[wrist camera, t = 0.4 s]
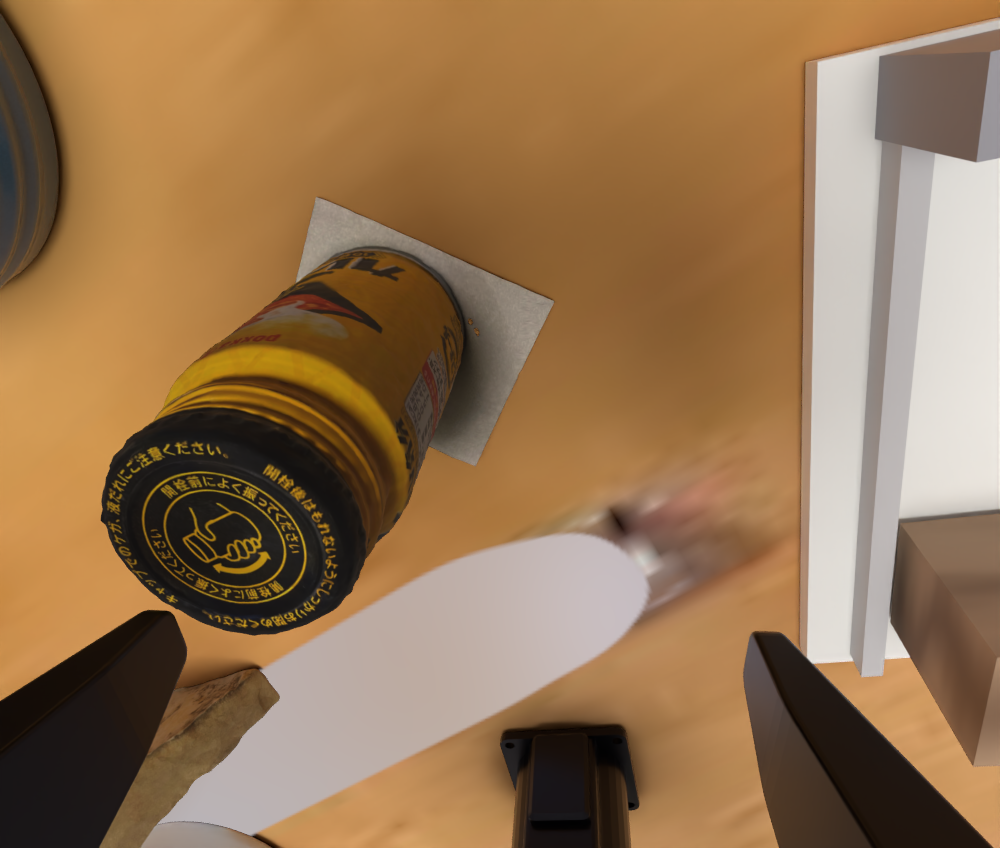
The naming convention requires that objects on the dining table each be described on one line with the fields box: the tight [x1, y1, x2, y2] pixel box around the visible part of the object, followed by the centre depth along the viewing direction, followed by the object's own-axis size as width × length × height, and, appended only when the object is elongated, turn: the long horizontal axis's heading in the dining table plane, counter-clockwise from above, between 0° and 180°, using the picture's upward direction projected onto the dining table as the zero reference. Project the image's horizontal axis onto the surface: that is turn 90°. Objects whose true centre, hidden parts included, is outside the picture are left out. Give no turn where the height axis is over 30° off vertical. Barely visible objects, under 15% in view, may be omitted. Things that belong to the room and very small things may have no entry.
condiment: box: [101, 197, 554, 635], centre depth 18 cm, size 7×8×12 cm
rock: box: [99, 669, 280, 848], centre depth 32 cm, size 11×9×10 cm
